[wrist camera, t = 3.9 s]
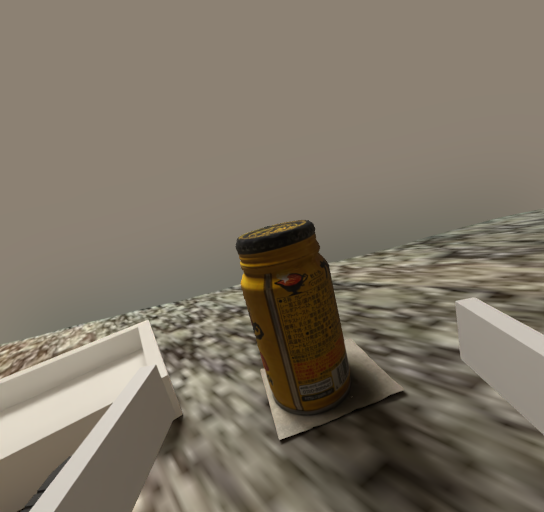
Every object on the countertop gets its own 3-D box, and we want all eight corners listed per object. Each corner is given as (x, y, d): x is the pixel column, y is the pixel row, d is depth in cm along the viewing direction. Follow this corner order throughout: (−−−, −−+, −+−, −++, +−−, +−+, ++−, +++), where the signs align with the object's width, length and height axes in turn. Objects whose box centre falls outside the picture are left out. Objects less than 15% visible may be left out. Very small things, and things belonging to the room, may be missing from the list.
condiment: (260, 371, 23) (221, 236, 21) (350, 339, 24) (325, 208, 22) (280, 443, 16) (224, 251, 13) (405, 394, 17) (377, 209, 15)
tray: (158, 345, 32) (148, 319, 32) (182, 414, 20) (167, 374, 20) (-33, 432, 25) (-52, 400, 24) (-175, 623, 13) (-223, 572, 12)
